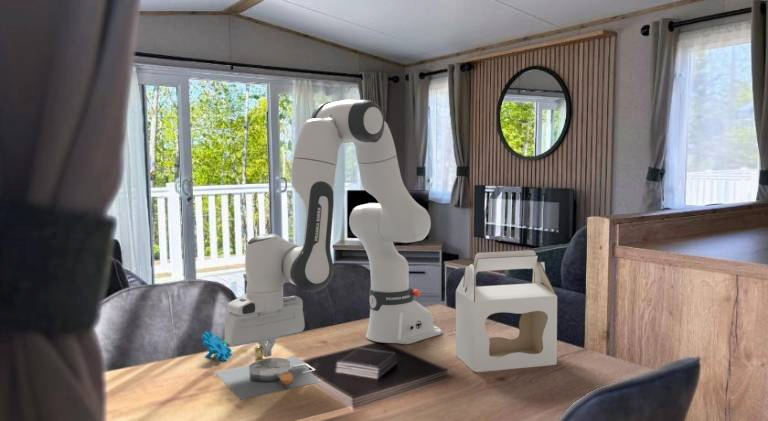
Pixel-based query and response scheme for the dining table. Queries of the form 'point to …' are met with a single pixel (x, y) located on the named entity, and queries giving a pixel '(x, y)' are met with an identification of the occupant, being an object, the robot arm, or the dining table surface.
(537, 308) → the gable box
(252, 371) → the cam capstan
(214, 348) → the gear
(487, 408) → the dining table surface
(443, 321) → the dining table surface
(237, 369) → the grey square plate
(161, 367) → the dining table surface
